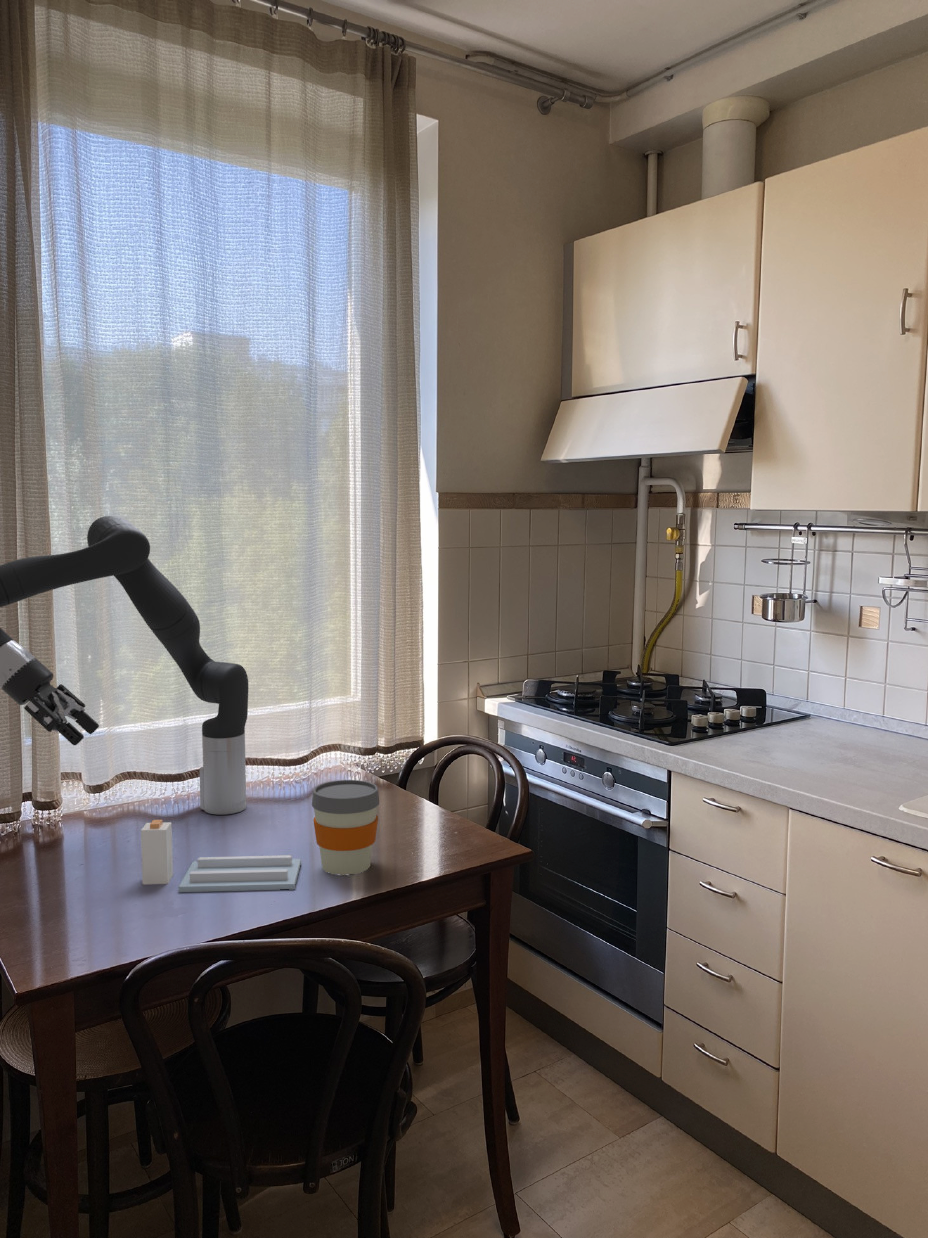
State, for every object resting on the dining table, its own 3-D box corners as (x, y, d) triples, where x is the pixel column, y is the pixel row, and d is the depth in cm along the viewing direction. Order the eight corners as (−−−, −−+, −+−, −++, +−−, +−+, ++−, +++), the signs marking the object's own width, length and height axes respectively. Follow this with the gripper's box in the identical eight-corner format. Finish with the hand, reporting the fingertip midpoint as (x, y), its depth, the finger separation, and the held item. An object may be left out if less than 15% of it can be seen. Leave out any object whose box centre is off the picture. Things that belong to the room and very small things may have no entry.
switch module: (142, 884, 164) (140, 825, 163) (148, 875, 168) (146, 818, 167) (167, 883, 165) (166, 825, 163) (173, 875, 168) (171, 818, 167)
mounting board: (178, 892, 161) (178, 878, 161) (193, 866, 173) (192, 853, 172) (294, 889, 162) (294, 875, 162) (300, 863, 174) (300, 851, 174)
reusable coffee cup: (391, 870, 171) (391, 792, 170) (329, 884, 165) (328, 803, 163) (361, 849, 182) (361, 775, 180) (302, 862, 175) (301, 785, 174)
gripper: (16, 663, 153) (90, 730, 155) (47, 651, 167) (114, 712, 169) (-15, 695, 153) (59, 761, 155) (18, 680, 167) (85, 741, 169)
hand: (87, 735), depth 162 cm, fingers open, 8 cm apart
